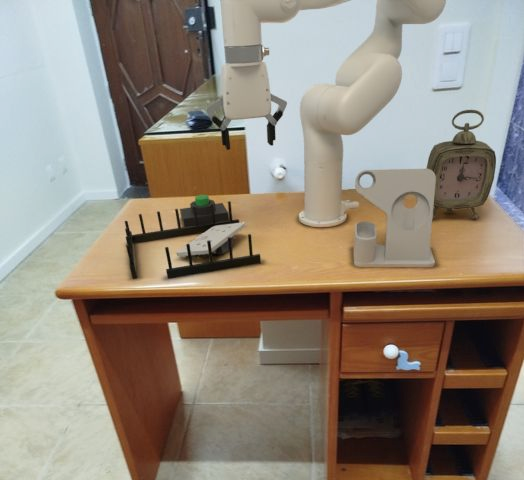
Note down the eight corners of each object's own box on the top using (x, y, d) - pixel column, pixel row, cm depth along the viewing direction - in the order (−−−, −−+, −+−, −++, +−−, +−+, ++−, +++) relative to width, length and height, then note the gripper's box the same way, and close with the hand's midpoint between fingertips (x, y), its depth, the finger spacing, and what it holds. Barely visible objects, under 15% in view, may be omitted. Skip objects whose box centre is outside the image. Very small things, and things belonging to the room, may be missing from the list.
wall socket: (224, 263, 106) (220, 246, 104) (165, 267, 112) (160, 251, 110) (251, 235, 121) (248, 219, 119) (198, 240, 126) (194, 225, 124)
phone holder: (352, 266, 104) (356, 183, 94) (351, 247, 112) (355, 168, 102) (435, 267, 102) (449, 181, 91) (428, 247, 110) (441, 166, 99)
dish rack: (238, 226, 127) (236, 200, 123) (260, 263, 108) (258, 233, 104) (129, 242, 122) (123, 216, 118) (133, 284, 103) (125, 254, 99)
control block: (223, 213, 135) (221, 195, 132) (229, 223, 129) (227, 204, 126) (181, 219, 133) (178, 201, 130) (184, 229, 127) (181, 211, 124)
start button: (208, 201, 130) (207, 194, 129) (210, 205, 127) (209, 198, 126) (195, 203, 130) (194, 195, 128) (197, 207, 127) (195, 200, 126)
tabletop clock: (424, 222, 121) (439, 114, 107) (419, 210, 129) (433, 107, 114) (484, 222, 120) (508, 112, 105) (475, 209, 127) (497, 104, 112)
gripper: (281, 51, 100) (283, 139, 110) (198, 58, 98) (208, 146, 108) (289, 54, 94) (291, 146, 104) (202, 61, 92) (212, 154, 102)
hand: (249, 146), depth 106 cm, fingers open, 9 cm apart
